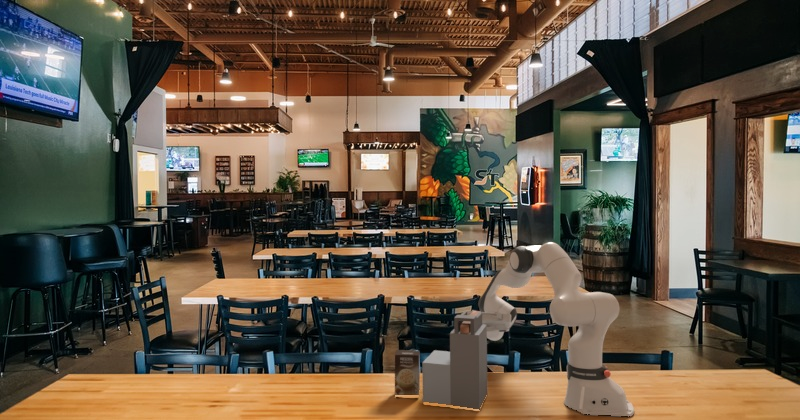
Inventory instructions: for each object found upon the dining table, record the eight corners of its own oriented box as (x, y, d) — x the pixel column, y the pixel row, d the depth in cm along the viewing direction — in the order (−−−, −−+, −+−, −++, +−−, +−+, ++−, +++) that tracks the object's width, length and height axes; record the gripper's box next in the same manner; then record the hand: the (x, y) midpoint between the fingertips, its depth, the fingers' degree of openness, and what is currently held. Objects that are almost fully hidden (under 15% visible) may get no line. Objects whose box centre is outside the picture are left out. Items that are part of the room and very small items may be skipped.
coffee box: (394, 398, 188) (393, 354, 188) (395, 392, 194) (395, 349, 194) (419, 399, 187) (418, 355, 187) (420, 392, 193) (419, 350, 193)
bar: (481, 319, 200) (481, 311, 200) (469, 333, 177) (469, 325, 177) (473, 318, 200) (473, 310, 200) (460, 333, 178) (460, 324, 178)
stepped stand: (487, 395, 190) (486, 309, 190) (479, 411, 175) (478, 319, 175) (434, 389, 197) (433, 307, 196) (422, 405, 181) (421, 315, 181)
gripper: (467, 314, 231) (461, 303, 220) (513, 317, 224) (509, 306, 213) (465, 328, 228) (459, 318, 217) (512, 331, 221) (508, 321, 210)
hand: (484, 312), depth 215 cm, fingers open, 8 cm apart
